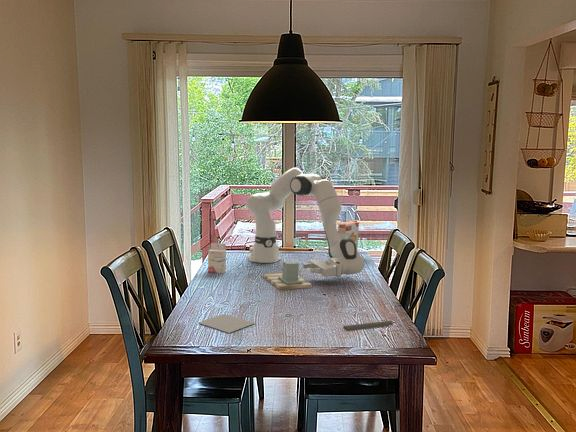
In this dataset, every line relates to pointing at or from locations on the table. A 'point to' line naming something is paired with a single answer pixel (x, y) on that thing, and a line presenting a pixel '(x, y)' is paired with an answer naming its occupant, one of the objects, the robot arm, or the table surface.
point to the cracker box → (349, 231)
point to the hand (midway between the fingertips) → (307, 268)
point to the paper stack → (226, 323)
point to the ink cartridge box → (217, 258)
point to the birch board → (282, 286)
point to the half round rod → (368, 325)
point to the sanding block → (290, 273)
